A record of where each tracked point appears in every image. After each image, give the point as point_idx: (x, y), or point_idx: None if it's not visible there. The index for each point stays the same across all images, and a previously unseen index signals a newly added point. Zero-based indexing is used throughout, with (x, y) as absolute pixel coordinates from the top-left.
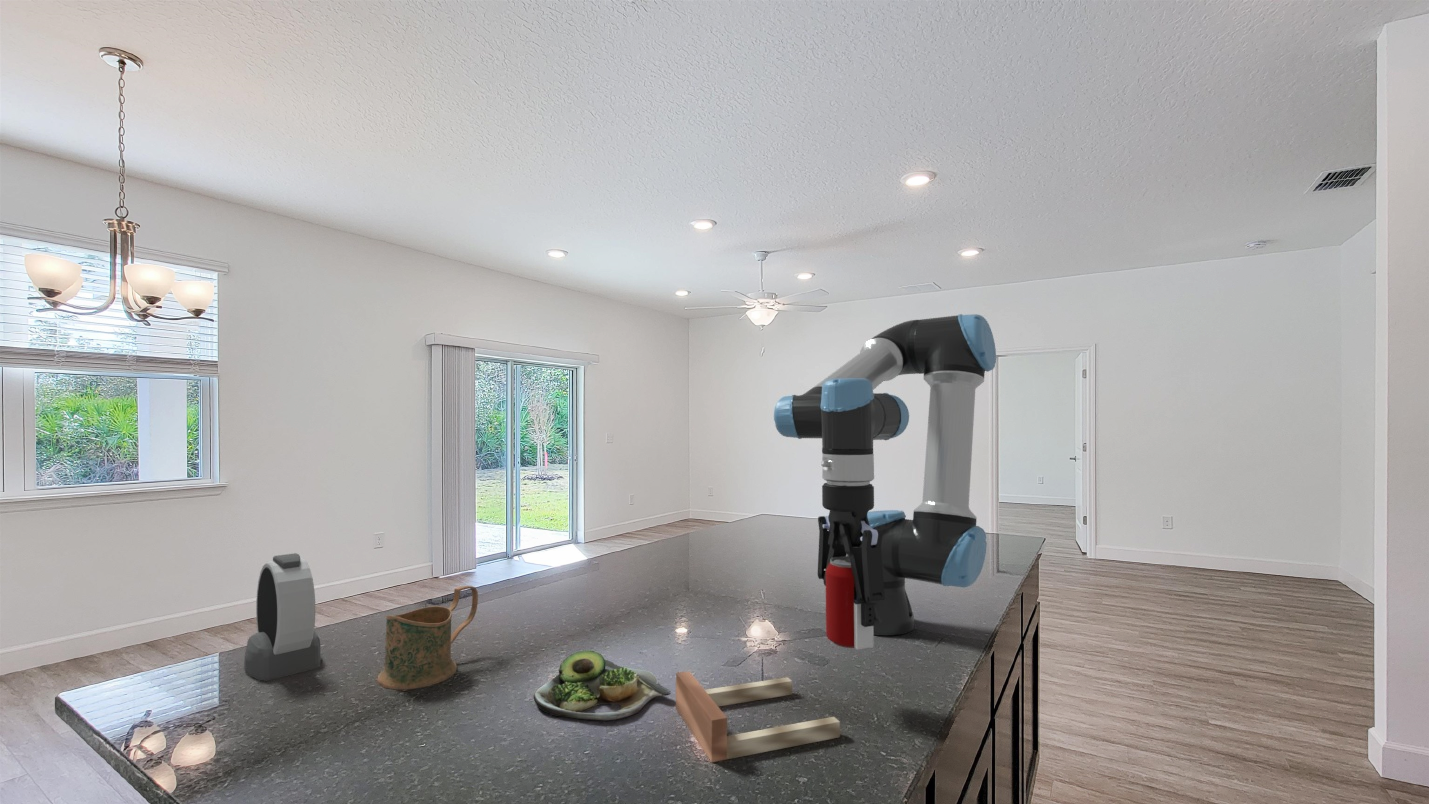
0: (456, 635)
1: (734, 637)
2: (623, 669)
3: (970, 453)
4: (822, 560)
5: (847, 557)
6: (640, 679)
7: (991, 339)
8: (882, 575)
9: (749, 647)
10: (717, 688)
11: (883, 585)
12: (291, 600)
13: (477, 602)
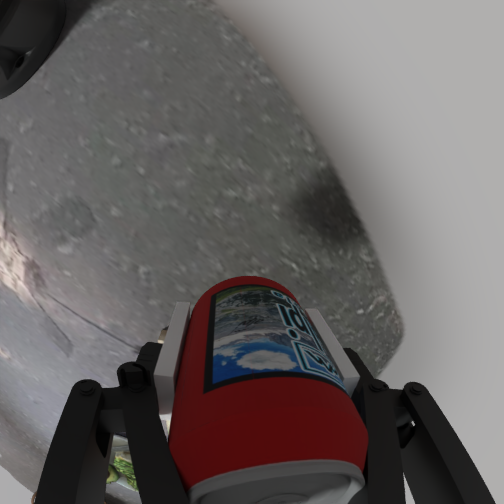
0: None
1: None
2: (119, 466)
3: None
4: (105, 478)
5: (199, 493)
6: (123, 451)
7: None
8: (454, 434)
9: (18, 291)
10: (167, 420)
11: (440, 411)
12: None
13: (34, 495)
